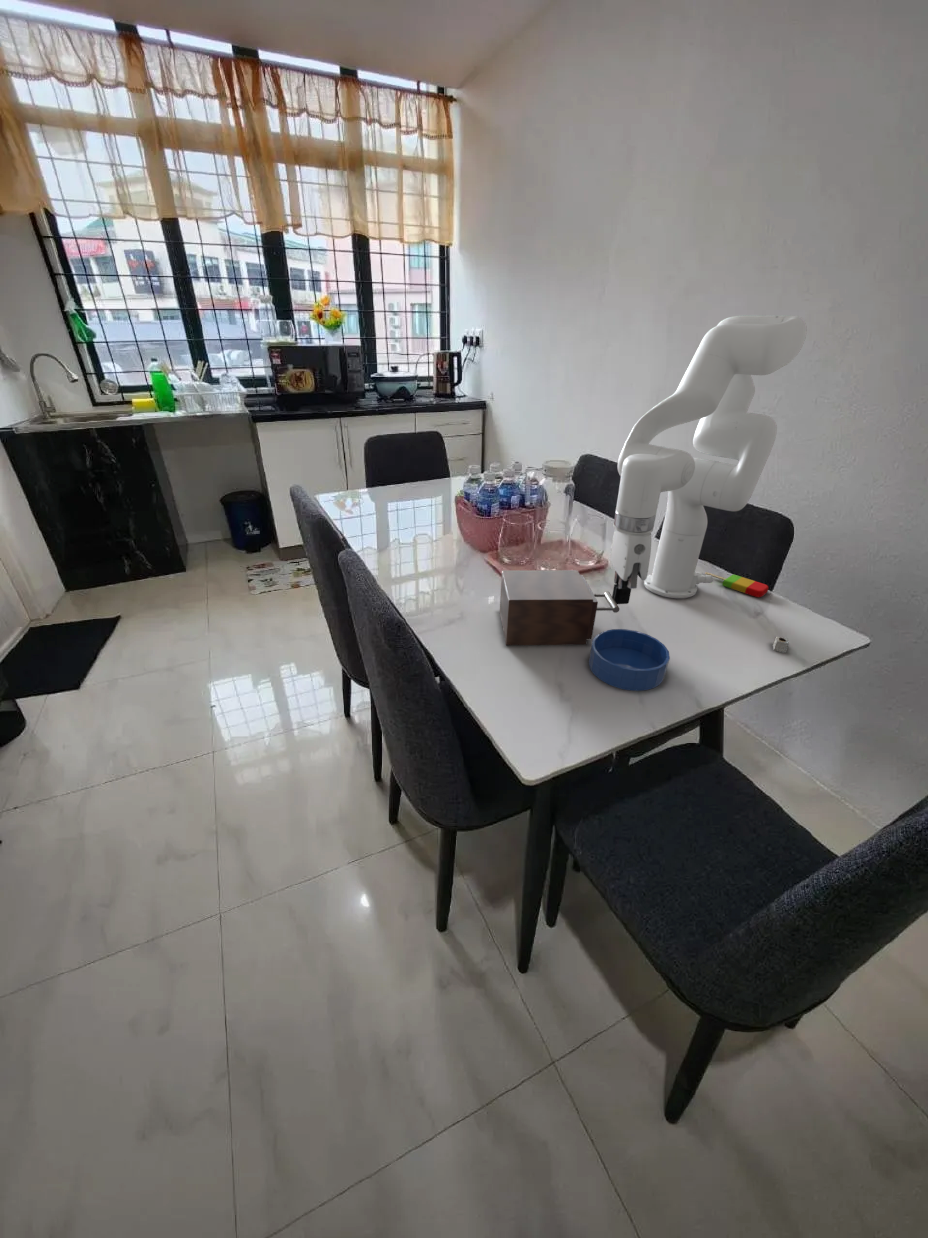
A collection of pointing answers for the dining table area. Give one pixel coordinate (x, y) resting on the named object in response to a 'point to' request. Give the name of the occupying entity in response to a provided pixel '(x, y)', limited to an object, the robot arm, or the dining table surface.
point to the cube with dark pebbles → (780, 644)
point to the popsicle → (743, 585)
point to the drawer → (610, 601)
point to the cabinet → (544, 607)
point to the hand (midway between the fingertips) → (620, 602)
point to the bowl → (628, 659)
